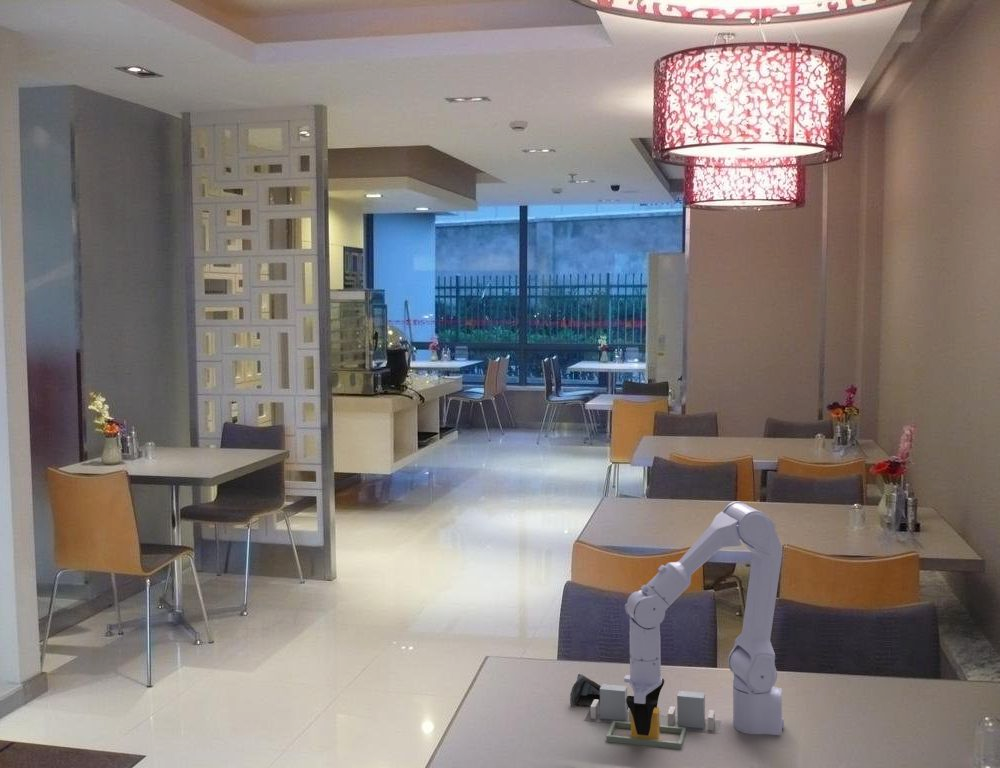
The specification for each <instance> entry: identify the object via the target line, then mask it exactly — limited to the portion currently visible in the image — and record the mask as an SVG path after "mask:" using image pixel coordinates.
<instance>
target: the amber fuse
mask: <svg viewBox="0 0 1000 768" xmlns="http://www.w3.org/2000/svg"><path fill="white" fill-rule="evenodd" d="M659 715H660V707H657V708H656V707H655V708H654V710H653V714H652V719H651V727H650V732H649V735H648V736H647V735H638V734H637V731H636V728H635V723H634V719H633V716H632V713H631V729H630V737H635V738H645V739H655V740H660V734H661V732H660V721H659Z"/></svg>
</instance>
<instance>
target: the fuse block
mask: <svg viewBox="0 0 1000 768" xmlns="http://www.w3.org/2000/svg"><path fill="white" fill-rule="evenodd" d="M590 706H591V707H589V711H588V712H587V714H586V716H585V718H584V719H583V721H584V722H595V723H602V724H603V723H605V724H612V722H613V721H622V720H612V719H602V718H600V699H594V698H593V701H592V703H591V705H590ZM715 718H716V712H715V710H714V709H709V711H708V714H707V718H705V726H704V728H694V727H684V726H678V717H677V716H676V706H672V705H670V706H669V709H668V711H667V715H664V714H659V721H660V725H663V726H673V727H683V728H686V732H692V733H693V732H695V733H704V734H705V733H706V734H713V735H714V734H716V735H719V734H720V729H721V723H722V720H717V719H715ZM622 722H631V711H630V709H629V708H628V716H627V718H626V720H625V721H622Z"/></svg>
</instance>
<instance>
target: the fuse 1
mask: <svg viewBox="0 0 1000 768" xmlns="http://www.w3.org/2000/svg"><path fill="white" fill-rule="evenodd" d="M600 686H601V687H600V695H599V709H600V718H602V719H612V720H622V721H625V720H626V718H627V716H628V712H629V709H628V710H627V703H626V698H627V696H628V686H627V685H617V684H606V683H605V684H604V683H602V684H601V685H600Z"/></svg>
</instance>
